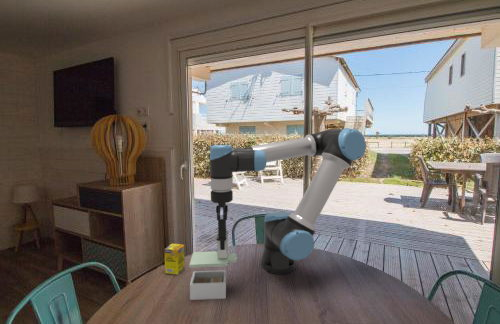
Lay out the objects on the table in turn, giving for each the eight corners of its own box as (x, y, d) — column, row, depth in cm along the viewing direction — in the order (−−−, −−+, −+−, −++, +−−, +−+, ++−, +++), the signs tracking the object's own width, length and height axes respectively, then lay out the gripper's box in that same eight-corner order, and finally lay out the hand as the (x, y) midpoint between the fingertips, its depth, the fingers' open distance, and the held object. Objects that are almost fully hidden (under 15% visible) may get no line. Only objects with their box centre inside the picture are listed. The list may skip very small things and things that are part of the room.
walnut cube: (207, 288, 98) (207, 278, 98) (206, 294, 95) (206, 284, 94) (196, 288, 98) (196, 278, 98) (195, 295, 94) (195, 284, 94)
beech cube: (222, 288, 99) (222, 277, 99) (221, 294, 95) (221, 283, 95) (211, 288, 99) (211, 277, 98) (210, 294, 95) (210, 283, 94)
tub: (226, 285, 102) (226, 270, 101) (225, 300, 93) (225, 283, 92) (193, 286, 101) (193, 271, 100) (190, 301, 92) (189, 284, 91)
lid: (236, 253, 101) (235, 227, 100) (236, 265, 91) (236, 236, 90) (193, 254, 100) (192, 228, 99) (189, 267, 90) (188, 238, 89)
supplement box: (178, 276, 108) (177, 250, 107) (164, 275, 109) (164, 248, 108) (185, 269, 114) (184, 244, 113) (171, 268, 115) (171, 243, 114)
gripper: (212, 185, 101) (213, 246, 103) (208, 195, 85) (210, 266, 88) (232, 185, 102) (233, 245, 104) (232, 194, 86) (233, 265, 88)
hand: (222, 255), depth 96 cm, fingers closed on lid, 3 cm apart
